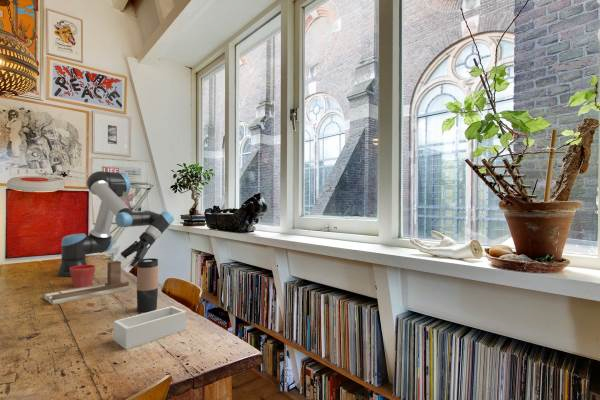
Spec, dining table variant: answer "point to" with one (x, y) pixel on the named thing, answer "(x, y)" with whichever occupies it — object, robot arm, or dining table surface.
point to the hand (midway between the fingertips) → (119, 269)
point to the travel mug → (147, 285)
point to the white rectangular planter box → (149, 326)
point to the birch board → (84, 292)
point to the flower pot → (82, 275)
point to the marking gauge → (113, 273)
